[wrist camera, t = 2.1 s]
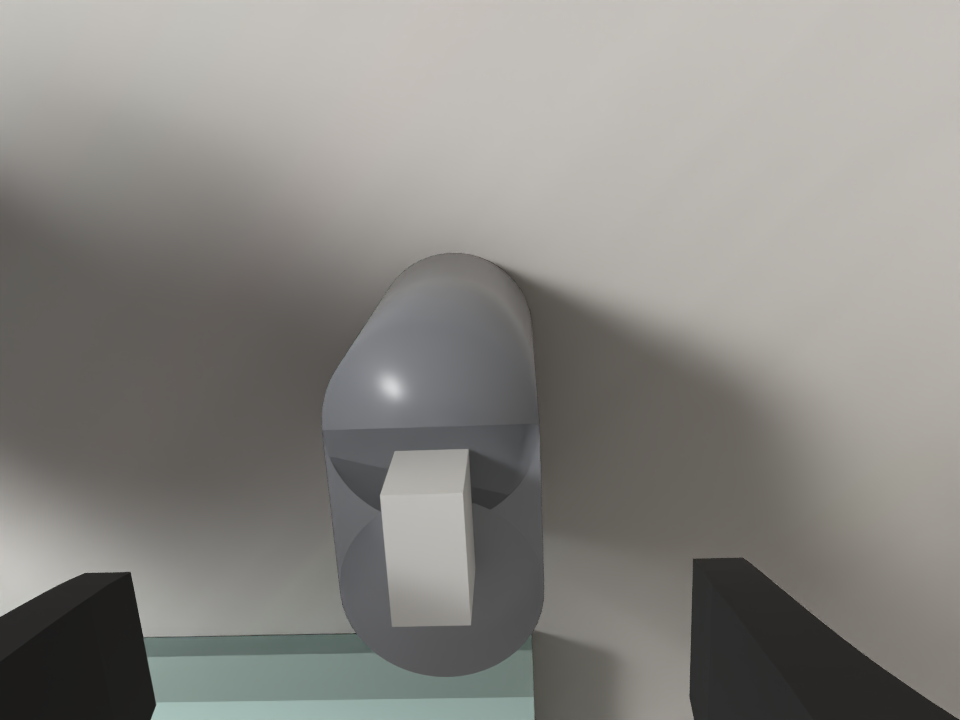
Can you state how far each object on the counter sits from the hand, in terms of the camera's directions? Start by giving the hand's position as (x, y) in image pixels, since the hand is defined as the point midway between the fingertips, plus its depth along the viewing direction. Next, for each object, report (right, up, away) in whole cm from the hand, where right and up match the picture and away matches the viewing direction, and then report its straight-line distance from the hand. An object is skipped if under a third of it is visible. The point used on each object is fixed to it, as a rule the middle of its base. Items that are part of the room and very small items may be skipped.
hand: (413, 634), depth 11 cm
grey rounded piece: (0, +3, +9) cm, 9 cm away
